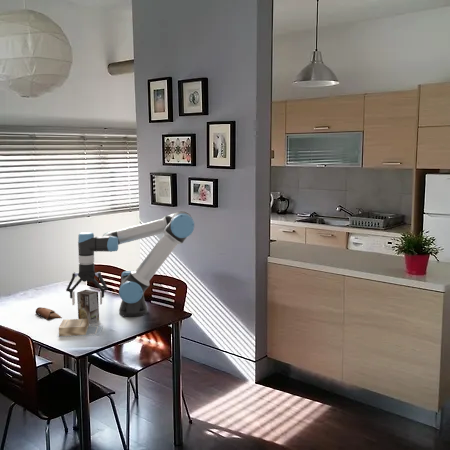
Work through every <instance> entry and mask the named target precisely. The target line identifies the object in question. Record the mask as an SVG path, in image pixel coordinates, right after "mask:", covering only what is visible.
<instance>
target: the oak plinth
mask: <svg viewBox="0 0 450 450" xmlns="http://www.w3.org/2000/svg"><path fill="white" fill-rule="evenodd" d="M89 326H90V324H89V322H88V319H78V318H71V319H68V318H67V319H63V320H61V323H60V325H59V327H58V333H59V336H71V337H75V336H74V335H86V332H87V330H88V327H89Z"/></svg>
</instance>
